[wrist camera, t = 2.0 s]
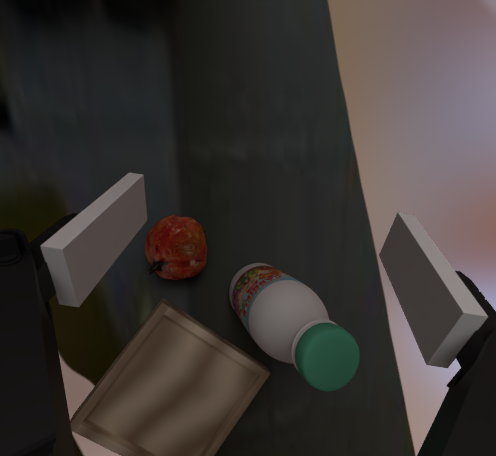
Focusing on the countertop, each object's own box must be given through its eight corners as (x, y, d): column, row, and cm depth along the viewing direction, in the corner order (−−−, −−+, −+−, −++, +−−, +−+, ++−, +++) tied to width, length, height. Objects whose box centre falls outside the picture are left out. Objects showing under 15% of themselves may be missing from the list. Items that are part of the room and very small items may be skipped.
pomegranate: (178, 206, 39) (111, 237, 32) (218, 197, 35) (150, 230, 27) (198, 256, 41) (139, 297, 34) (238, 254, 37) (180, 299, 29)
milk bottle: (292, 277, 42) (397, 334, 22) (266, 327, 41) (350, 430, 22) (245, 251, 40) (315, 289, 20) (217, 303, 39) (261, 393, 20)
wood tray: (73, 415, 35) (66, 428, 33) (162, 297, 37) (162, 302, 35) (189, 475, 39) (190, 490, 37) (265, 365, 41) (270, 373, 39)
